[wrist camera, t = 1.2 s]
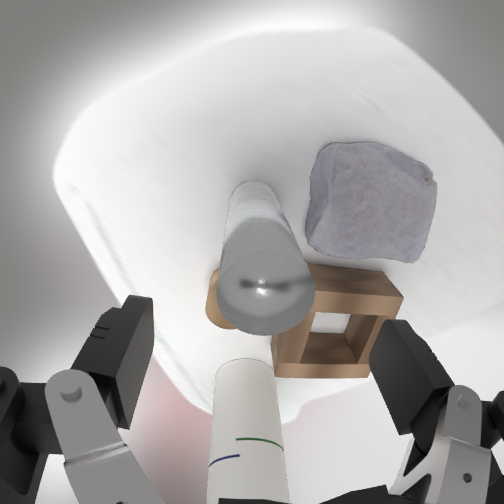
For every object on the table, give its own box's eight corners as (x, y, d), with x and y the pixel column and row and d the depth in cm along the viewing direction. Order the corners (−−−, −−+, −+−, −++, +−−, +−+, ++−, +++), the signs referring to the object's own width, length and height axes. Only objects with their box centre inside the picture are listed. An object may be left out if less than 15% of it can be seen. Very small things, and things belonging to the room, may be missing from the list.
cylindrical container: (204, 369, 33) (184, 582, 10) (261, 350, 32) (279, 583, 10) (231, 403, 36) (230, 586, 13) (283, 387, 35) (309, 581, 12)
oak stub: (255, 267, 28) (257, 292, 24) (249, 303, 30) (250, 331, 26) (212, 262, 28) (207, 286, 24) (208, 298, 30) (204, 326, 26)
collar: (382, 271, 29) (403, 297, 24) (354, 347, 33) (367, 377, 28) (288, 261, 28) (297, 288, 24) (270, 344, 32) (274, 377, 28)
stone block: (308, 138, 26) (298, 248, 28) (325, 129, 21) (313, 260, 23) (416, 160, 27) (406, 255, 29) (445, 158, 22) (433, 267, 24)
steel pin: (280, 183, 25) (325, 257, 12) (272, 228, 27) (303, 338, 13) (233, 177, 25) (221, 244, 11) (227, 222, 27) (212, 330, 13)
